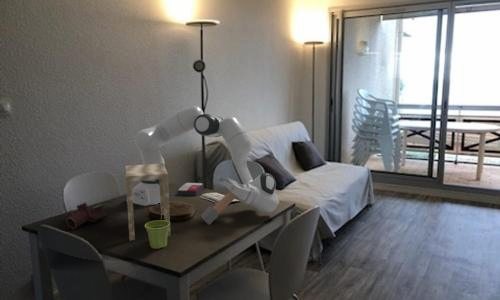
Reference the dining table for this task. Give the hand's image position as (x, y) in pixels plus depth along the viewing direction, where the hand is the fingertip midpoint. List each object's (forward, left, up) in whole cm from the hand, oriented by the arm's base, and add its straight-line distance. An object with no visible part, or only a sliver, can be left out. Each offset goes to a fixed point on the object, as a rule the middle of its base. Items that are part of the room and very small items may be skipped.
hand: (220, 180), depth 180 cm
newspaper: (-17, +31, -20) cm, 40 cm away
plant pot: (-10, -33, -19) cm, 40 cm away
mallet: (+1, +1, -12) cm, 12 cm away
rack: (-24, -20, -19) cm, 37 cm away
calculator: (-39, +38, -20) cm, 58 cm away
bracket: (-55, -24, -19) cm, 63 cm away
